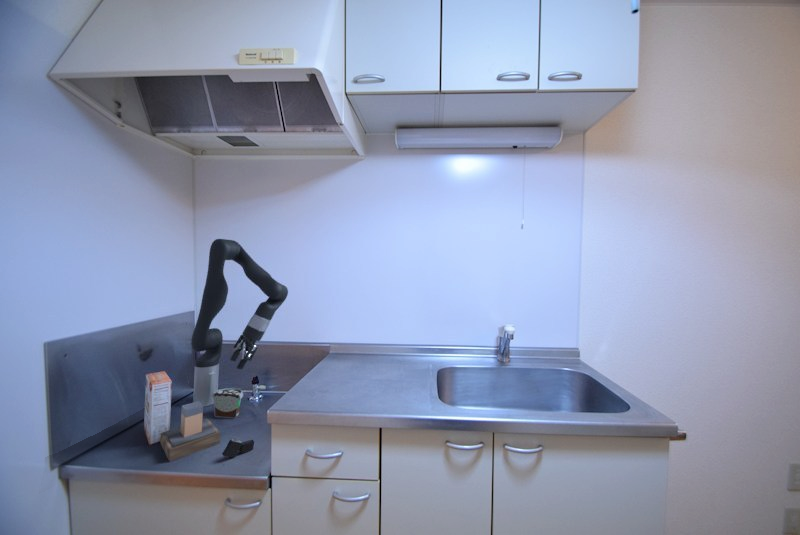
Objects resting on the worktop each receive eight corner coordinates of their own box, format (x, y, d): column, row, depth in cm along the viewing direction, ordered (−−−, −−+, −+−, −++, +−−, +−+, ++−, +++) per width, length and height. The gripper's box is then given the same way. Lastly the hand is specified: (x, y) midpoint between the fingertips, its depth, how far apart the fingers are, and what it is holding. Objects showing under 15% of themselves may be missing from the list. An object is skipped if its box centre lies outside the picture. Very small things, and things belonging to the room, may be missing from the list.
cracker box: (142, 430, 107) (145, 373, 108) (163, 424, 112) (165, 370, 112) (147, 446, 98) (150, 384, 98) (169, 439, 102) (172, 379, 103)
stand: (160, 443, 100) (160, 431, 100) (207, 428, 110) (207, 417, 110) (169, 461, 90) (170, 448, 90) (219, 443, 101) (220, 431, 101)
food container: (248, 411, 124) (249, 388, 124) (239, 418, 118) (240, 394, 118) (221, 409, 125) (222, 386, 126) (211, 416, 119) (212, 391, 119)
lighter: (244, 457, 98) (254, 439, 100) (247, 460, 96) (257, 441, 99) (220, 452, 92) (232, 433, 95) (223, 455, 91) (234, 436, 93)
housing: (180, 431, 100) (181, 405, 100) (197, 426, 104) (198, 401, 104) (184, 437, 97) (185, 410, 97) (201, 431, 101) (203, 405, 101)
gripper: (242, 319, 122) (221, 356, 118) (254, 329, 112) (232, 369, 108) (258, 325, 127) (238, 360, 123) (271, 334, 117) (250, 373, 113)
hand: (235, 364), depth 116 cm, fingers open, 8 cm apart
